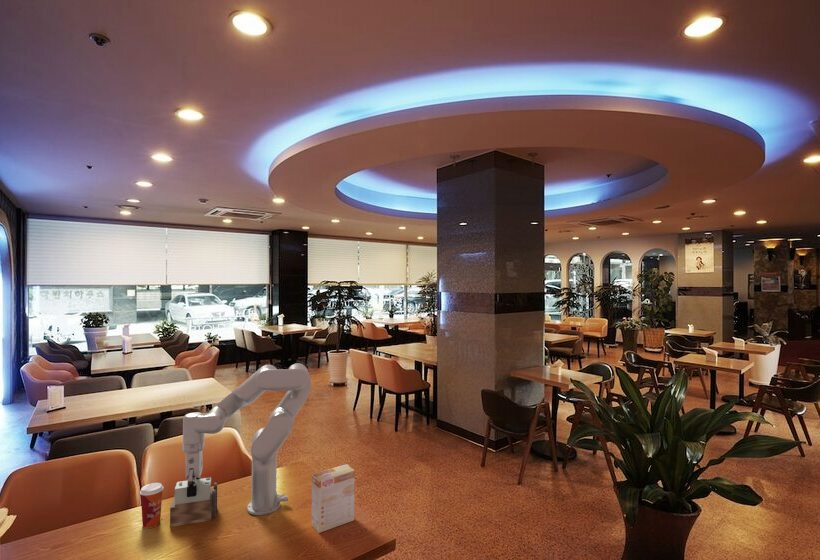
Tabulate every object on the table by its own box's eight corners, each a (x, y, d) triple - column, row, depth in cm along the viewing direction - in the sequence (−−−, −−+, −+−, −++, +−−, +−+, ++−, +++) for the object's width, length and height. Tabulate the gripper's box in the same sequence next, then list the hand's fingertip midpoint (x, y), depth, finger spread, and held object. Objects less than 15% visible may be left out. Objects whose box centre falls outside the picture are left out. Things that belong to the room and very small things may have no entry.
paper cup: (152, 531, 159) (152, 492, 159) (134, 528, 160) (134, 490, 160) (168, 519, 166) (168, 482, 166) (150, 517, 168) (151, 480, 168)
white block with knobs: (211, 492, 174) (211, 475, 173) (209, 499, 168) (209, 482, 168) (177, 497, 169) (177, 479, 169) (174, 504, 164) (174, 486, 164)
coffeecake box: (346, 512, 173) (346, 463, 173) (354, 520, 167) (355, 470, 167) (310, 524, 164) (311, 473, 164) (318, 533, 158) (319, 480, 158)
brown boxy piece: (217, 506, 176) (217, 480, 176) (214, 519, 166) (214, 492, 166) (175, 512, 171) (175, 486, 171) (169, 526, 162) (170, 498, 162)
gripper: (201, 453, 161) (200, 501, 162) (207, 436, 178) (206, 480, 178) (178, 455, 159) (178, 504, 159) (186, 438, 176) (186, 482, 176)
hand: (193, 491), depth 169 cm, fingers open, 7 cm apart
